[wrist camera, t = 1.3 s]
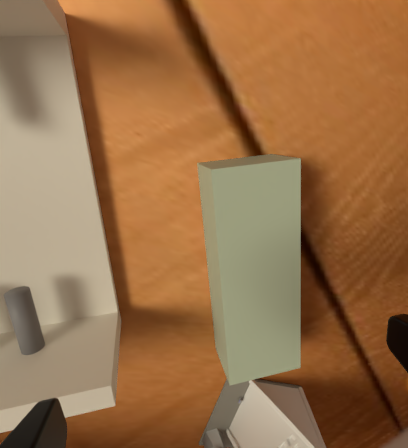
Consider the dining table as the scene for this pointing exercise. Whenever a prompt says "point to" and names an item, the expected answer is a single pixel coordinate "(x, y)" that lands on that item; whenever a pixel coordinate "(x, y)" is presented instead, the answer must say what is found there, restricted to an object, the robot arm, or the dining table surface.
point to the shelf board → (254, 262)
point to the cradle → (50, 228)
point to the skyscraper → (262, 417)
